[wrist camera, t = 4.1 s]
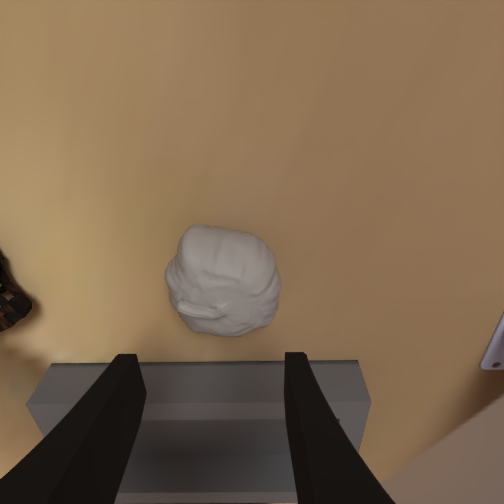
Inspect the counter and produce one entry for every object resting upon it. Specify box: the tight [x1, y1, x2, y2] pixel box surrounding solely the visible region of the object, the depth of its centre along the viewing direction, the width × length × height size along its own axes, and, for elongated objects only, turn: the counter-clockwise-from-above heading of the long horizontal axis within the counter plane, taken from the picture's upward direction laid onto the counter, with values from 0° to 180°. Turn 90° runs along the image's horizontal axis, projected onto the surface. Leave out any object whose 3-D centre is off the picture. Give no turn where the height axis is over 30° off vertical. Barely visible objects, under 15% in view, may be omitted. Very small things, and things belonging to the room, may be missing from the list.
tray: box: [26, 360, 371, 503], centre depth 24 cm, size 20×12×3 cm, turn 91°
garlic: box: [165, 224, 281, 337], centre depth 16 cm, size 6×5×5 cm
